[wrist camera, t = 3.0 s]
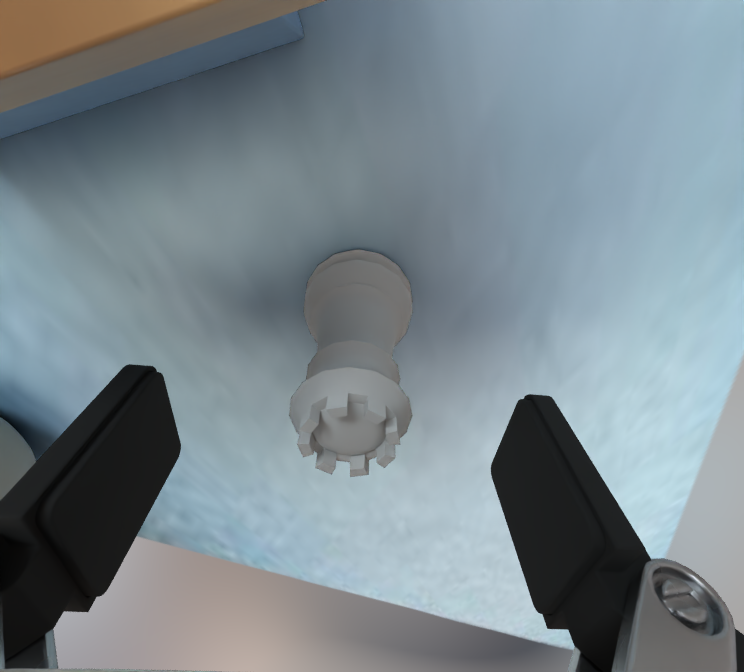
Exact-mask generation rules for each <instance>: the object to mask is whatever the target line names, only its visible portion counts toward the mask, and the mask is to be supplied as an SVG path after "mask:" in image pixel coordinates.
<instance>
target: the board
mask: <svg viewBox="0 0 744 672" xmlns="http://www.w3.org/2000/svg"><path fill="white" fill-rule="evenodd" d="M324 1H327V0H0V113H2V112H5V111H8V110H10V109H13V108H16V107H19V106H22V105H25V104H28V103H31V102H34V101H37V100H39V99H42V98H45V97H48V96H51V95H54V94H57V93H60V92H63V91H66V90H68V89H71V88H74V87H77V86H80V85H83V84H86V83H89V82H92V81H95V80H97V79H100V78H103V77H106V76H109V75H112V74H115V73H118V72H121V71H124V70H126V69H129V68H132V67H135V66H138V65H141V64H144V63H147V62H150V61H153V60H155V59H158V58H161V57H164V56H167V55H170V54H173V53H176V52H179V51H182V50H184V49H187V48H190V47H193V46H196V45H199V44H202V43H205V42H208V41H211V40H213V39H216V38H219V37H222V36H225V35H228V34H231V33H234V32H237V31H240V30H242V29H245V28H248V27H251V26H254V25H257V24H260V23H263V22H266V21H269V20H271V19H274V18H277V17H280V16H283V15H286V14H289V13H292V12H295V11H298V10H300V9H303V8H306V7H309V6H312V5H315V4H318V3H321V2H324Z"/></svg>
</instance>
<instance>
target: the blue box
mask: <svg viewBox="0 0 744 672" xmlns="http://www.w3.org/2000/svg"><path fill="white" fill-rule="evenodd" d="M303 37H304V32H303V29H302V25H301V22H300V18H299V14H298V11H295V12H292V13H289V14H286V15H283V16H280V17H277V18H274V19H271V20H269V21H266V22H263V23H260V24H257V25H254V26H251V27H248V28H245V29H242V30H240V31H237V32H234V33H231V34H228V35H225V36H222V37H219V38H216V39H213V40H211V41H208V42H205V43H202V44H199V45H196V46H193V47H190V48H187V49H184V50H182V51H179V52H176V53H173V54H170V55H167V56H164V57H161V58H158V59H155V60H153V61H150V62H147V63H144V64H141V65H138V66H135V67H132V68H129V69H126V70H124V71H121V72H118V73H115V74H112V75H109V76H106V77H103V78H100V79H97V80H95V81H92V82H89V83H86V84H83V85H80V86H77V87H74V88H71V89H68V90H66V91H63V92H60V93H57V94H54V95H51V96H48V97H45V98H42V99H39V100H37V101H34V102H31V103H28V104H25V105H22V106H19V107H16V108H13V109H10V110H8V111H5V112H2V113H0V139H2V138H5V137H8V136H11V135H14V134H17V133H20V132H23V131H26V130H29V129H32V128H35V127H38V126H41V125H44V124H47V123H50V122H53V121H56V120H59V119H62V118H65V117H68V116H71V115H74V114H77V113H80V112H83V111H86V110H89V109H92V108H95V107H98V106H101V105H104V104H107V103H110V102H113V101H116V100H119V99H122V98H125V97H128V96H131V95H134V94H137V93H140V92H143V91H146V90H149V89H152V88H155V87H158V86H161V85H164V84H167V83H170V82H173V81H176V80H179V79H182V78H185V77H188V76H191V75H194V74H197V73H200V72H203V71H206V70H209V69H212V68H215V67H218V66H221V65H224V64H227V63H230V62H233V61H236V60H239V59H242V58H245V57H248V56H251V55H254V54H257V53H260V52H263V51H266V50H269V49H272V48H275V47H278V46H281V45H284V44H287V43H290V42H293V41H296V40H299V39H302V38H303Z"/></svg>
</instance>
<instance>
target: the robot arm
mask: <svg viewBox="0 0 744 672" xmlns="http://www.w3.org/2000/svg"><path fill="white" fill-rule="evenodd" d="M180 450H181V443H180V439H179V435H178V431H177V428H176V424H175V420H174V416H173V412H172V408H171V404H170V400H169V396H168V393H167V389H166V385H165V381H164V377H163V375H162V374H161V373H159V372H157V370H156V369H155V368H154V367H153V366H143V365H130V364H129V365H126V366H125V367H124V368H123V369H122V370H121V371H120V372H119V373H118V374H117V375H116V376H115V377H114V378H113V379H112V380H111V381H110V383H109V384H108V385H107V386H106V387H105V388H104V389H103V390H102V391H101V392H100V393H99V394H98V396H97V397H96V398H95V399H94V400H93V401H92V402H91V403H90V404H89V405H88V406H87V407H86V409H85V410H84V411H83V412H82V413H81V414H80V415H79V416H78V417H77V418H76V419H75V420H74V422H73V423H72V424H71V425H70V426H69V427H68V428H67V429H66V430H65V431H64V432H63V433H62V434H61V436H60V437H59V438H58V439H57V440H56V441H55V442H54V443H53V444H52V445H51V446H50V447H49V449H48V450H47V451H46V452H45V453H44V454H43V455H42V456H41V457H40V458H39V459H38V460H37V462H36V463H35V464H34V465H33V466H32V467H31V468H30V469H29V470H28V471H27V472H26V473H25V475H24V476H23V477H22V478H21V479H20V480H19V481H18V482H17V483H16V484H15V485H14V486H13V488H12V489H11V490H10V491H9V492H8V493H7V494H6V495H5V496H4V497H3V498H2V499H1V500H0V672H217V671H176V670H172V671H171V670H130V669H58V662H57V655H56V646H55V639H54V631H53V628H54V627H55V625H56V623H57V622H58V620H59V618H60V617H61V615H62V613H63V612H64V611H72V612H88V611H89V610H90V608H91V606H92V604H93V602H94V601H95V599H96V597H97V596H102V595H103V594H104V593H105V592H106V591H107V589H108V587H109V586H110V584H111V582H112V580H113V579H114V577H115V575H116V573H117V571H118V569H119V567H120V566H121V564H122V562H123V560H124V558H125V556H126V554H127V552H128V551H129V549H130V547H131V545H132V543H133V541H134V539H135V538H136V536H137V534H138V532H139V530H140V528H141V526H142V525H143V523H144V521H145V519H146V517H147V515H148V513H149V511H150V510H151V508H152V506H153V504H154V502H155V500H156V498H157V497H158V495H159V493H160V491H161V489H162V487H163V485H164V484H165V482H166V480H167V478H168V476H169V474H170V472H171V470H172V469H173V467H174V465H175V463H176V461H177V459H178V457H179V454H180ZM491 475H492V479H493V482H494V485H495V488H496V491H497V494H498V497H499V500H500V503H501V507H502V510H503V513H504V516H505V519H506V522H507V525H508V528H509V531H510V534H511V537H512V540H513V543H514V546H515V550H516V553H517V556H518V559H519V562H520V565H521V568H522V571H523V574H524V577H525V580H526V583H527V586H528V589H529V592H530V596H531V599H532V602H533V604H534V607H535V609H536V610H537V612H538V613H540V614H543V617H544V620H545V623H546V626H547V629H568V630H569V632H570V635H571V638H572V640H573V643H574V646H575V647H574V651H573V654H572V658H571V661H570V665H569V669H568V672H744V635H743V634H742V633H740V632H739V631H738V630H736V629H735V627H734V623H733V618H732V615H731V614H730V612H729V610H728V608H727V606H726V604H725V602H724V601H723V600H722V599H721V597H720V596H719V595H718V593H717V592H716V591H715V590H714V589H713V588H712V587H711V586H710V585H709V584H708V583H707V582H706V581H705V580H704V579H703V578H701V577H700V576H699V575H698V574H696V573H695V572H693V571H692V570H691V569H689V568H687V567H685V566H683V565H681V564H679V563H677V562H675V561H672V560H668V559H664V558H661V559H652V560H651V558H650V556H649V555H648V553H647V552H646V550H645V547H644V545H643V544H642V542H641V541H640V539H639V537H638V536H637V534H636V533H635V531H634V529H633V528H632V526H631V524H630V523H629V521H628V520H627V518H626V516H625V515H624V513H623V511H622V510H621V508H620V507H619V505H618V503H617V502H616V500H615V498H614V497H613V495H612V494H611V492H610V490H609V489H608V487H607V486H606V484H605V482H604V481H603V479H602V477H601V476H600V474H599V473H598V471H597V469H596V468H595V466H594V464H593V463H592V461H591V460H590V458H589V456H588V455H587V453H586V451H585V450H584V448H583V447H582V445H581V443H580V442H579V440H578V439H577V437H576V435H575V434H574V432H573V430H572V429H571V427H570V426H569V424H568V422H567V421H566V419H565V417H564V416H563V414H562V413H561V411H560V409H559V408H558V406H557V404H556V403H555V401H554V400H553V399H552V397H550V396H544V395H531V394H529V395H526V396H525V397H524V399H520V400H519V401H518V402H517V404H516V407H515V409H514V412H513V414H512V416H511V419H510V421H509V424H508V426H507V428H506V431H505V433H504V436H503V438H502V440H501V443H500V445H499V447H498V450H497V452H496V455H495V457H494V459H493V462H492V465H491Z"/></svg>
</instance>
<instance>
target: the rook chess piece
mask: <svg viewBox="0 0 744 672" xmlns="http://www.w3.org/2000/svg"><path fill="white" fill-rule="evenodd" d="M412 302H413V301H412V294H411V288H410V282H409V281H408V279H407V278H406V276H405V275H404V273H403V272H402V270H401V269H400V267H399V266H398V265H397V264H395V263H394V262H392V261H391V260H389V259H388V258H386V257H384V256H383V255H381V254H379V253H374V252H369V251H364V250H359V249H357V250H351V251H346V252H341V253H336V254H334V255H333V256H331V257H330V258H328V259H327V260H325V261H324V262H322V263H321V264H319V265H318V266H317V267H316V269H315V271H314V272H313V274H312V275H311V277H310V279H309V280H308V282H307V288H306V293H305V302H304V311H303V312H304V316H305V319H306V322H307V325H308V328H309V331H310V334H311V335H312V336H313V337H314V338H315V341H316V342H317V353H316V355H315V356H314V358H313V359H312V360H311V362H310V363H309V364H308V370H307V377H306V380H305V381H304V382H302V384H301V385H300V386H299V388H298V389H297V390H296V392H295V393H294V395H293V396H292V397H291V403H290V412H289V416H290V418H291V421H292V423H293V425H294V427H295V430H296V432H297V433H298V434H299V438H298V443H297V445H298V447H299V449H300V452H301V454H302V456H303V457H306V456H309V455H313V453H314V451H315V452H317V460H316V466H315V468H317V469H319V470H322V471H324V472H327V473H329V474H332V473H333V471H334V470H335V467H336V460H337V461H344V462H350V477H354V476H362V475H369V460H370V459H373V458H375V457H377V463H378V464H379V465H381V466H382V467H384V468H385V467H386V466H387V465H388V464H389V463H390V462H391V461H393V460H394V459H395V458H396V455H395V445H400V438H401V437H402V436H403V435H404V434H405V433H406V432H407V429H408V426H409V424H410V421H411V418H412V412H411V406H410V401H409V398H408V396H407V395H406V394H405V393H404V392H403V390H402V389H401V388H400V387H399V382H400V375H399V370H398V365H397V364H396V363H395V361H394V360H393V359H392V356H393V350H394V347H395V346H396V345H397V344H398V342H399V341H400V340H401V339H402V338H403V337H404V335H405V334H406V332H407V330H408V326H409V323H410V320H411V316H412V313H413V310H412Z"/></svg>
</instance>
